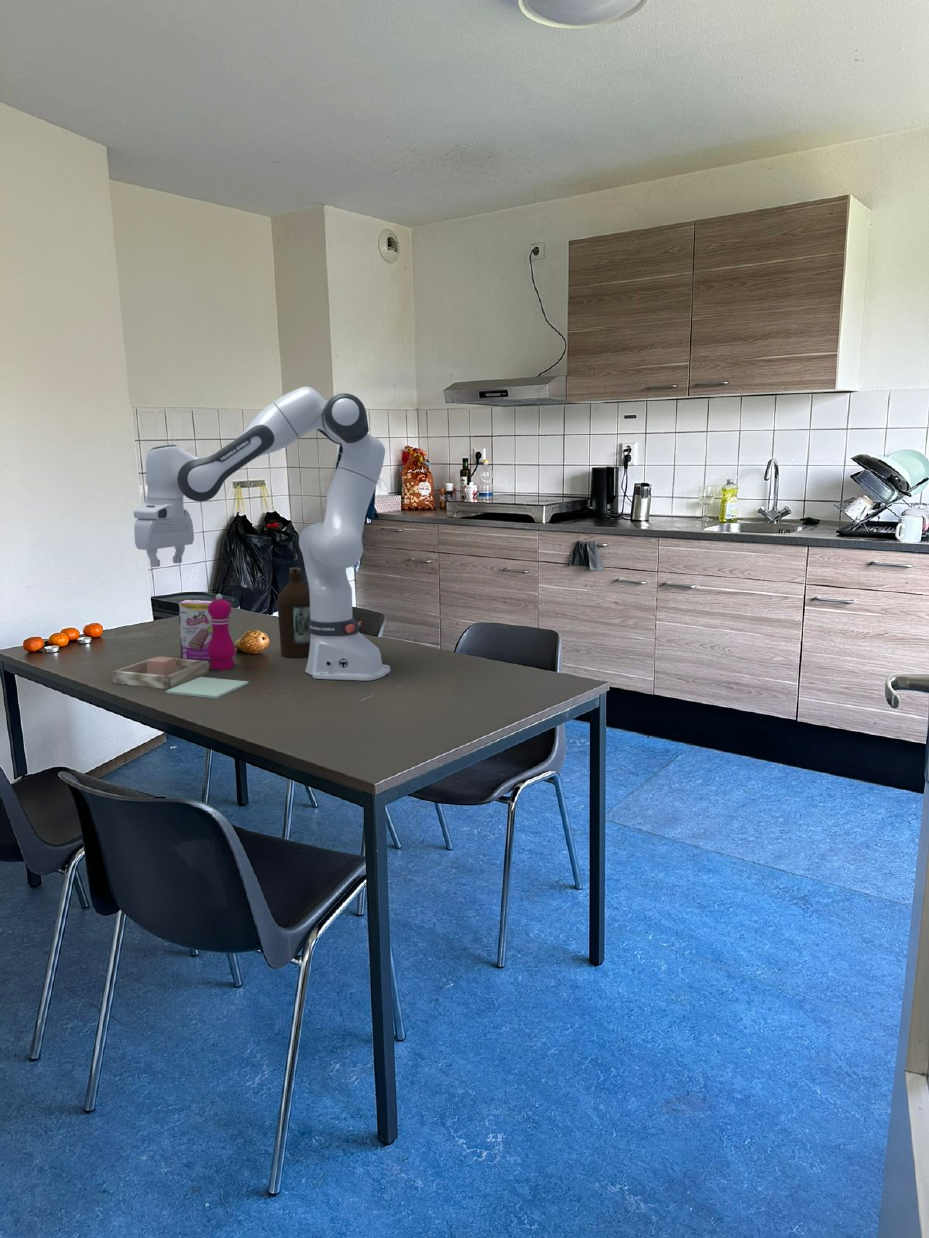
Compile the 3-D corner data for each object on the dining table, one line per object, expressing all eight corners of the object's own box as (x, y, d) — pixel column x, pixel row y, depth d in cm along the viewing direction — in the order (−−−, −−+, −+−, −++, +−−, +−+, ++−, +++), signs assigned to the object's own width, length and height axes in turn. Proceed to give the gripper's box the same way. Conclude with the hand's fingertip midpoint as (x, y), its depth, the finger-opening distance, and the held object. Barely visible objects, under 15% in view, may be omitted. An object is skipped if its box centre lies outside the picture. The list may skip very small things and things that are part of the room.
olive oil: (271, 653, 250) (268, 568, 245) (303, 648, 257) (300, 564, 252) (292, 660, 242) (289, 571, 238) (323, 654, 249) (321, 568, 245)
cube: (176, 676, 224) (175, 657, 223) (164, 681, 220) (163, 662, 219) (160, 675, 226) (159, 656, 225) (147, 679, 221) (146, 660, 220)
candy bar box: (180, 660, 241) (177, 602, 238) (187, 656, 246) (184, 599, 243) (219, 661, 240) (216, 603, 237) (225, 657, 245) (223, 600, 242)
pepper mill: (228, 670, 230) (225, 596, 226) (203, 669, 232) (199, 595, 228) (240, 664, 237) (237, 592, 233) (216, 663, 239) (212, 591, 235)
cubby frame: (209, 672, 228) (208, 661, 228) (168, 689, 212) (167, 677, 212) (156, 667, 233) (156, 656, 233) (112, 683, 217) (111, 671, 216)
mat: (248, 683, 217) (248, 681, 217) (216, 698, 204) (216, 696, 204) (200, 679, 222) (200, 676, 221) (166, 693, 208) (165, 690, 208)
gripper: (178, 508, 229) (179, 560, 231) (128, 511, 209) (130, 568, 212) (199, 509, 227) (200, 561, 229) (151, 512, 208) (153, 569, 210)
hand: (166, 564), depth 220 cm, fingers open, 8 cm apart
